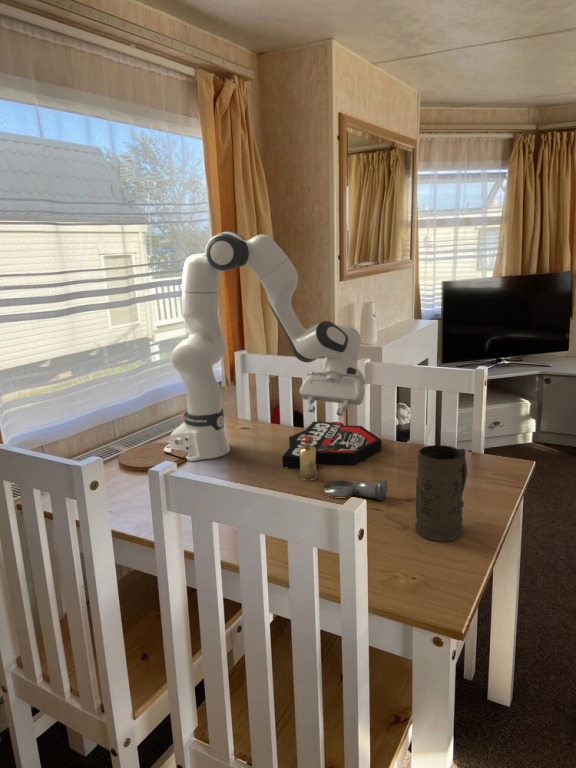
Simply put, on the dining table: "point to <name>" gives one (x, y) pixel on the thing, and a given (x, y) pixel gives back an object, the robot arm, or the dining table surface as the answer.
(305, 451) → the valve
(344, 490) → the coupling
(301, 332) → the robot arm
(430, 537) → the beer stein
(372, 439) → the decorative sign
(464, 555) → the dining table surface
